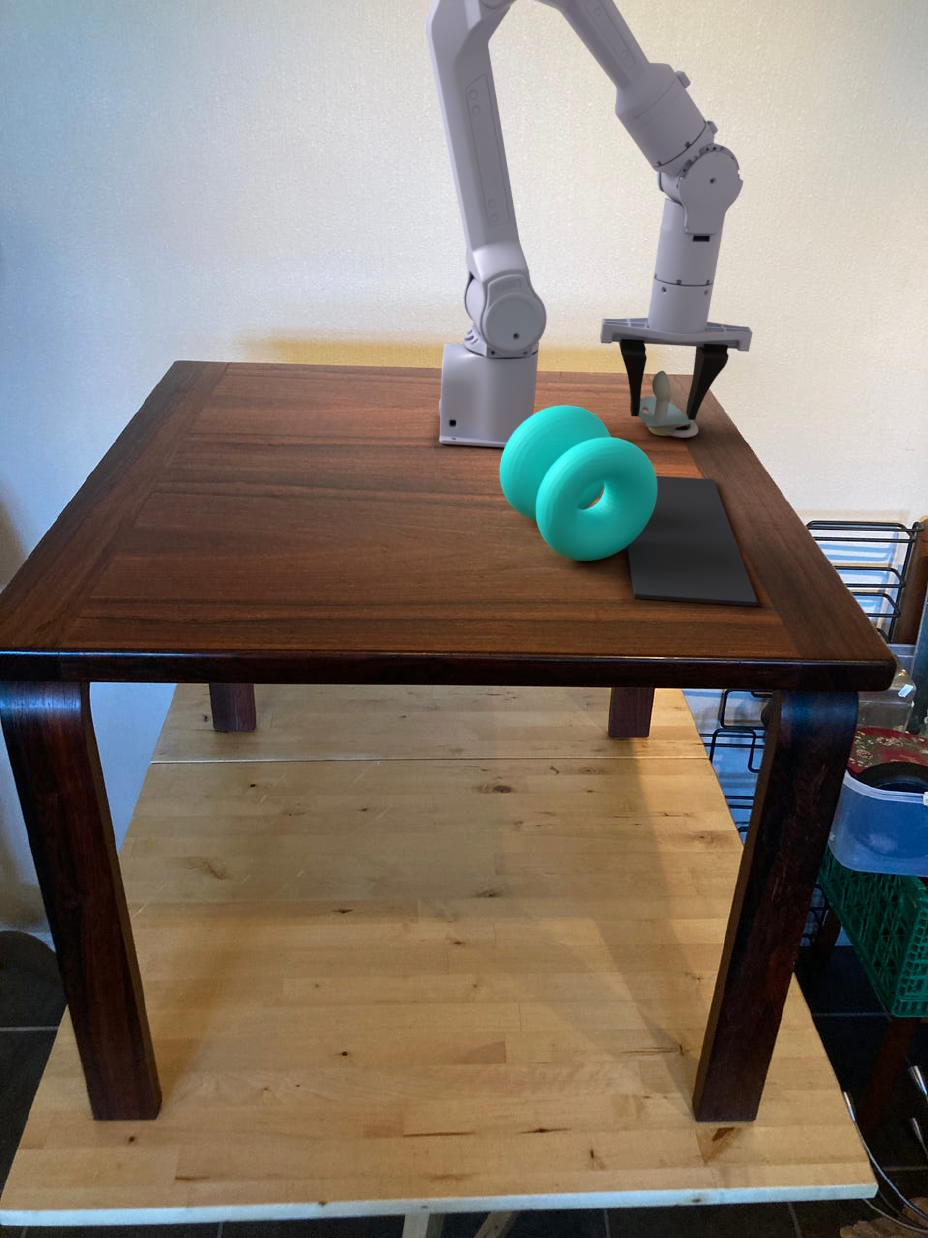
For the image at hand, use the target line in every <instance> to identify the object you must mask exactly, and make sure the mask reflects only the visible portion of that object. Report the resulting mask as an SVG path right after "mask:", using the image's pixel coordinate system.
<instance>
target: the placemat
mask: <svg viewBox="0 0 928 1238" xmlns="http://www.w3.org/2000/svg"><path fill="white" fill-rule="evenodd" d="M656 478H657V499H656V503H655V507H654V510H653V513H652V515H651V517H650V519H649V521H648V523H647V524H646V526H645V528H644V529H643V530H642V532H641V533H640V534H639V535H638V536H637V537H636V538H635V539H634V540H633V541H632V542H631V543H630V544H629V545H628V546H626V547H625V548H626V553H627V560H628V566H629V572H630V578H631V579H630V581H631V586H632V592H633V598H634V599H641V600H655V601H672V602H683V603H684V602H685V603H700V604H703V603H704V604H715V605H729V606H730V605H732V606H743V607H745V606H746V607H757V606H758V600H757V596H756V594H755V591H754V588H753V586H752V584H751V580H750V577H749V574H748V572H747V569H746V566H745V563H744V560H743V558H742V554H741V552H740V549H739V546H738V544H737V541H736V538H735V535H734V533H733V530H732V527H731V524H730V522H729V518H728V516H727V513H726V509H725V507H724V504H723V502H722V499H721V497H720V494H719V491H718V488H717V485H716V482H715V479H712V478H695V477H683V476H682V477H680V476H665V475H656Z"/></svg>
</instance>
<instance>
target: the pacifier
mask: <svg viewBox="0 0 928 1238" xmlns="http://www.w3.org/2000/svg"><path fill="white" fill-rule="evenodd" d="M651 386H652V393H653V394H654V395H653V396H649V395H648V396H643V397H641V399H640V410H639V416H638V417H637V418H638V419H639V420H640V421H642V422H643V423H645V427H646V428H648V430H649V431H650V433H652V434H653V435H657V436H662V437H663V436H664V437H668V436H672V437H675V438H680V439H683V438H684V439H686V438H687V439H688V438H692V437H695V436H696V435H697V434H699V426H698V424H696V422H694V420H689V419H688V417H687V415H686V414H684V413H683V412H682V411H681V410H680V409H679V408H678V407H677V406H676V405H674V404H673V403H672V402H671V401H672V389H671V388H672V387H671V383H670V380H669V377H668V375H667V373H666V371H664V370H659V371H658V372H657V373H656V374H655V375H654V377H653V379H652V383H651ZM644 411H647V412H644ZM684 426H686V427H687V428H688V429H686V430H678V429H677V428H681V427H684Z"/></svg>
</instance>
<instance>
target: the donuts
mask: <svg viewBox="0 0 928 1238" xmlns="http://www.w3.org/2000/svg"><path fill="white" fill-rule="evenodd" d="M656 473H657V472H656V470H655V468H654V465H653V463H652V462H651V460H650V458H649V457H648V455H647V454H646V453H645V452H644V451H643V450H642V449H641V448H640V447H638V446H637V445H635V444H634V443H632V442H630V441H628V440H626V439H622V438H620V437H619V438H618V437H611V433H610V432H609V430H608V428H607V427H606V425H605V424H604V422H603V421H602V420H601V418H599V416H597V415H596V414H594V413H593V412H591V411H589V410H587V409H585V408H583V407H579V406H576V405H569V404H568V405H567V404H563V405H562V404H561V405H555V406H554V405H553V406H550V407H547V408H543V409H542V410H539V411H537V412H536V413H534V415H532V416H531V417H529V418H528V419H527V420H525V421H524V422H523V423H522V424H521V425H520V426H519V427H518V428H517V429H516V430H515V432H514V433H513V434H512V436H511V437H510V439H509V441H508V442H507V444H506V447H504V448H503V452H502V455H501V459H500V465H499V482H500V487H501V490H502V492H503V495H504V497H505V499H506V500H507V502H508V504H509V505H510V506H511V507H512V509H514V510H515V511H516V512H517V513H518V514H520V515H521V516H523V517H524V518H527V519H529V520H532V521H535V522H536V524H537V528H538V530H539V533H540V534H541V537H542V539H543V541H544V542H545V543H546V544H547V545H548V546H549V547H550V548H551V549H552V550H553V551H554V552H556V554H558V555H561V556H562V557H564V558H567V559H570V560H573V561H580V562H592V561H598V560H603V559H606V558H609V557H611V556H613V555H615V554H617V553H619V552H620V551H622V550H624V549H625V548H626V546H628V545H629V544H630V543H631V542H632V541H633V540H634V539H635V538H636V537H637V536H638V535H639V534H640V533H641V532H642V530H643V529H644V528H645V526H646V524H647V523H648V521H649V519H650V517H651V515H652V513H653V510H654V507H655V503H656V499H657V478H656V476H657V474H656ZM601 494H602V495H601ZM600 496H601V497H600ZM599 497H600V498H599ZM598 498H599V500H598V501H597V502H596V500H597V499H598ZM594 502H596V503H595V504H594ZM592 504H594V505H593V506H591V505H592ZM590 506H591V507H590Z"/></svg>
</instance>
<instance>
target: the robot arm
mask: <svg viewBox="0 0 928 1238" xmlns="http://www.w3.org/2000/svg"><path fill="white" fill-rule="evenodd" d="M517 1H518V0H432V1H431V4H430V8H429V10H428V13H427V16H426V21H425V29H426V30H425V34H426V40H427V45H428V49H429V55H430V56H429V57H430V60H431V66H432V70H433V76H434V81H435V87H436V92H437V97H438V102H439V108H440V113H441V118H442V123H443V124H442V125H443V128H444V134H445V139H446V144H447V150H448V154H449V160H450V165H451V169H452V170H451V171H452V176H453V181H454V182H453V183H454V186H455V192H456V197H457V203H458V207H459V214H460V218H461V224H462V228H463V233H464V239H465V243H466V247H465V248H466V249H465V264H466V270H467V279H466V284H465V288H464V291H463V305H464V309H465V311H466V314H467V316H468V317H469V319H471V321H472V325H471V326H470V327H469V329H468V331H467V332H466V335H464V339H463V342H457V343H455V342H454V343H453V342H452V343H449V342H448V343H445V344H444V346H443V351H442V361H441V377H440V380H441V381H440V399H439V402H438V418H439V437H438V438H439V439H438V442H439V443H440V444H445V445H458V446H475V447H492V448H505V447H506V444H507V442H508V441H509V439H510V437H511V436H512V434H513V433H514V432H515V430H516V429H517V428H518V427H519V426H520V425H521V424H522V423H523V422H524V421H525V420H527V419H528V418H529V417H531V416H532V415H534V414H535V401H536V387H537V377H538V376H537V374H538V362H539V349H540V340H541V339H542V336H543V335H544V333H545V330H546V327H547V317H548V316H547V310H546V307H545V304H544V302H543V300H542V298H541V297H540V296H539V295H538V293H537V292H536V291H535V289H534V287H533V285H532V281H531V275H530V270H529V266H528V262H527V260H526V257H525V254H524V253H525V252H524V251H523V248H522V245H521V241H520V237H519V229H518V224H517V217H516V216H517V215H516V211H515V203H514V198H513V192H512V185H511V181H510V180H511V179H510V174H509V167H508V161H507V160H508V159H507V153H506V148H505V142H504V136H503V129H502V123H501V117H500V111H499V105H498V104H499V103H498V99H497V93H496V86H495V80H494V73H493V68H492V61H491V55H490V48H489V42H490V40H491V38H492V37H493V36H494V33H495V32H496V30H497V29H498V27H499V26H500V24H501V23H502V21H503V20H504V18H505V17H506V15H507V14H508V12H510V9H511V7H512V5H513V4H514V3H516V2H517ZM534 1H535V2H538V3H541V4H543V5H544V6H548V7H550V8H553V9H555V10H557V11H558V12H560V14H561V15H562V16H563V18H564V19H565V20H566V22H567V23H568V24H569V26H570V27H571V29H572V31H574V32H575V34H576V36H577V37H578V38H579V40H580V41H581V42H582V43H583V45H584V46H585V47H586V49H587V50H588V52H589V53H590V54H591V56H593V58H594V59H595V61H596V62H597V64H598V65H599V67H600V68H601V69H602V70H603V71H604V73H605V74H606V76H607V77H608V78H609V80H610V81H611V82H612V84H613V85H614V87H615V88H616V94H615V102H614V103H615V104H614V106H615V107H614V114H615V116H616V117H617V118H618V120H619V121H620V123H621V124H622V126H623V128H625V130H626V132H627V133H628V134H629V136H630V137H631V139H632V141H633V142H634V143H635V144H636V146H637V148H638V149H639V150H640V152H641V153H642V155H643V157H644V158H645V159H646V160H647V162H648V163H649V165H650V167H652V169H653V170H654V171H655V172H656V182H657V187H658V190H659V191H660V192H662V193H664V195H666V197H665V198H664V202H663V203H664V204H663V210H662V218H661V223H660V224H661V225H660V227H659V228H660V230H659V234H658V235H659V236H658V243H657V249H656V250H657V251H656V258H655V265H654V273H653V279H652V286H651V287H652V288H651V293H650V301H649V309H648V315H647V317H633V318H630V317H629V318H602V319H601V326H600V334H599V340H600V343H601V344H606V345H607V344H613V343H618V345H619V350H620V354H621V357H622V360H623V364H624V366H625V370H626V375H627V379H628V385H629V397H630V405H629V406H630V408H629V412H630V416H631V417H637V418H638V416H639V410H640V399H641V398H642V386H643V379H644V374H645V369H646V365H647V358H648V357H647V354H646V351H647V347H646V345H659V346H661V345H662V346H679V347H695V355H694V356H695V357H694V363H693V364H694V366H693V373H692V379H691V385H690V389H689V393H688V398H687V403H686V410H685V413H686V414H685V415H686V417H687V418H688V419H689V420H692V421H696V419H697V415H698V413H699V409H700V407H701V405H702V403H703V401H704V399H705V397H706V395H707V393H708V391H709V390H710V388H711V387H712V385H713V383H714V382H715V380H716V379H717V377H718V376H719V375H720V373H721V372H722V371H723V369H724V368H725V367H726V365H727V363H728V360H729V354H728V349H732V350H737V351H738V352H746V353H747V352H750V348H751V343H752V337H753V331H752V329H751V328H750V326H743V325H742V326H741V325H732V324H725V323H719V322H712V321H708V319H709V313H710V308H711V303H712V297H713V296H712V295H713V290H714V284H715V279H716V274H717V267H718V260H719V255H720V250H721V249H720V248H721V244H722V237H723V230H724V224H725V219H726V218H725V217H726V213H727V211H728V210H729V209H730V207H731V206H732V205H733V204H734V203H735V202H736V200H737V199H738V198H739V195H740V194H741V191H742V188H743V186H744V180H743V179H741V176H740V175H741V174H739V171H740V164H739V161H738V159H737V157H736V155H735V154H734V153H733V152H732V150H730V149H729V148H728V147H726V146H724V145H721V144H719V143H715V142H714V140H715V135H716V134H717V133H718V131H719V129H718V127H717V125H716V124H715V122H714V121H713V120H706V119H705V117H704V116H703V114H702V112H701V111H700V109H699V108H698V106H697V105H696V103H695V101H694V100H693V98H692V97H691V95H690V94H689V92H688V91H687V88H688V87H689V86H691V83H692V82H691V80H690V79H689V77H688V76H687V74H686V72H685V71H683V70H676V71H675V70H674V69H673V67H672V66H671V65H670V64H669V63H665V62H650V61H649V59H648V58H647V56H646V54H645V52H644V51H643V49H642V48H641V46H640V44H639V43H638V41H637V39H636V37H635V36H634V34H633V32H632V31H631V29H630V27H629V25H628V24H627V22H626V20H625V19H624V17H623V15H622V13H621V11H620V10H619V8H618V7H617V5H616V3H615V2H614V0H534Z"/></svg>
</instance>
